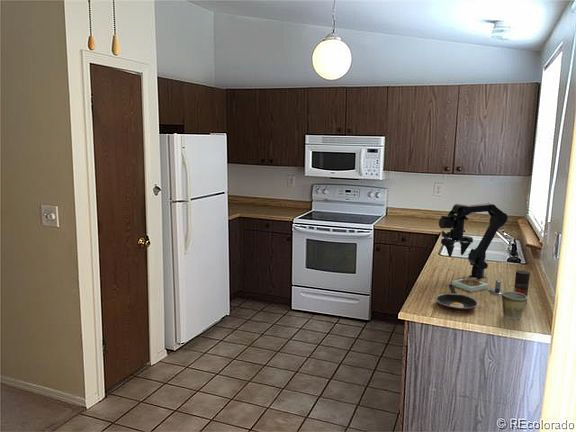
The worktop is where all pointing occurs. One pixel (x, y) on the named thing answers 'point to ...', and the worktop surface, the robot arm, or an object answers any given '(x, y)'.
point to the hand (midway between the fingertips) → (455, 255)
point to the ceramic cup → (513, 304)
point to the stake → (496, 289)
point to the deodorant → (522, 282)
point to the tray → (469, 288)
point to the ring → (471, 281)
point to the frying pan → (456, 301)
